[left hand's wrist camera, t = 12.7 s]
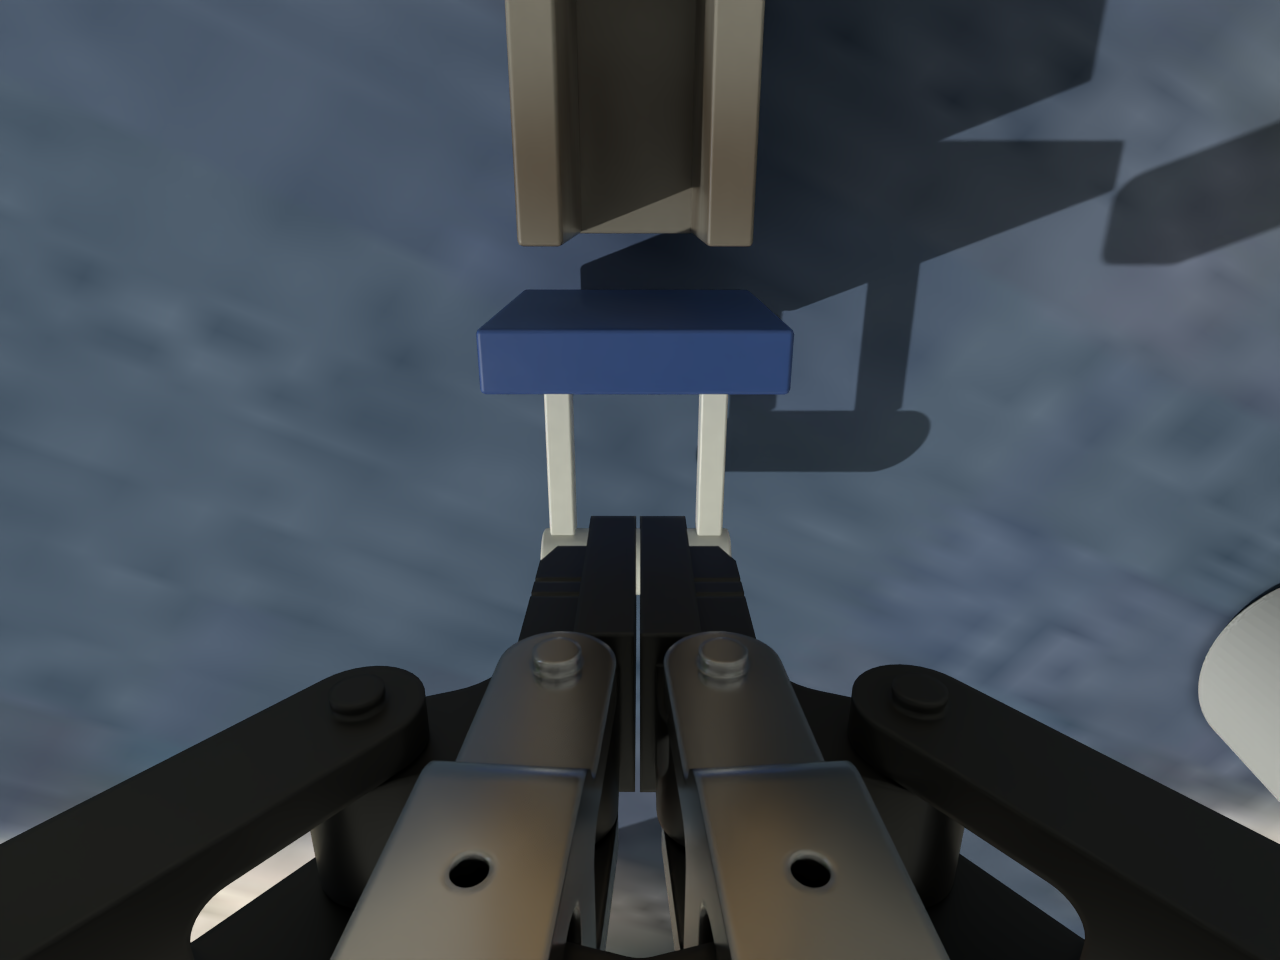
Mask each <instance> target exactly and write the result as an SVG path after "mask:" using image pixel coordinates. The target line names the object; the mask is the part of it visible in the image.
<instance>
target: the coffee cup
mask: <svg viewBox="0 0 1280 960" xmlns="http://www.w3.org/2000/svg"><path fill="white" fill-rule="evenodd" d="M1198 693H1199V701H1200V706H1201V709H1202V712H1203V714H1204V716H1205V718H1206V720H1207V722H1208V723H1209V725H1210V726H1211V727H1212V728H1213V730H1214V731H1215V732H1216V733H1217V734H1218V735H1219V736H1220V737H1221V738H1222V739H1223V740H1224V742H1225V743H1226V744H1227V745H1228V746H1229V747H1230V748H1231V749H1232V750H1233V751H1234V753H1235V754H1236V755H1237V756H1238V757H1239V758H1240V759H1241V760H1242V761H1243V762H1244V764H1245V765H1246V766H1247V767H1248V768H1249V769H1250V770H1251V771H1252V772H1253V773H1254V774H1255V776H1256V777H1257V778H1258V779H1259V780H1260V781H1261V782H1262V783H1263V784H1264V785H1265V787H1266V788H1267V789H1268V790H1269V791H1270V792H1271V793H1272V794H1273V795H1274V796H1275V797H1276V799H1277V800H1278V801H1279V802H1280V588H1279V589H1276V590H1274V591H1272V592H1271V593H1269V594H1267V595H1265V596H1263V597H1262V598H1260V599H1259V600H1257V601H1256V602H1254V603H1253V604H1251V605H1250V606H1249V607H1247V608H1246V609H1245V610H1243V611H1242V612H1241V613H1240V614H1239V615H1237V616H1236V617H1235V618H1234V619H1233V620H1232V621H1231V622H1230V623H1229V624H1228V625H1227V626H1226V627H1225V629H1224V630H1223V631H1222V632H1221V633H1220V635H1219V636H1218V637H1217V639H1216V640H1215V642H1214V643H1213V645H1212V647H1211V648H1210V650H1209V652H1208V654H1207V656H1206V658H1205V661H1204V663H1203V666H1202V669H1201V673H1200V677H1199V688H1198Z"/></svg>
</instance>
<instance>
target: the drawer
mask: <svg viewBox="0 0 1280 960" xmlns="http://www.w3.org/2000/svg"><path fill="white" fill-rule="evenodd" d="M764 12H765V0H505V14H506V33H507V52H508V70H509V89H510V108H511V127H512V145H513V164H514V183H515V202H516V221H517V239H518V243H519V245H521V246H560V245H562V244H564V243H565V242H567V241H568V240H570V239H571V238H573V237H574V236H576V235H577V234H579V233H693V234H694V235H695V236H697V237H698V238H699V239H700V240H702V241H703V242H704V243H706V244H707V245H708V246H711V247H749V246H751V245H752V243H753V228H754V209H755V189H756V170H757V150H758V130H759V111H760V91H761V71H762V52H763V32H764ZM476 337H477V350H478V364H479V377H480V389H481V391H482V393H484V394H544V404H545V426H546V449H547V471H548V494H549V516H550V528H547V529H545V530H544V533H543V537H542V545H541V560H542V559H543V558H544V557H545V556H546V555H547V554H549V553H550V552H551V551H552V550H553V549H554V548H556V547H557V546H586V545H587V539H588V532H589V528H576V527H577V512H576V480H575V447H574V415H573V394H699V424H698V459H697V493H696V528H687V533H688V540H689V546H719V547H720V548H721V549H723V550H724V551H725V552H726V553H727V554H728V555H730V556H731V542H730V535H729V532H728V530H727V529H725V528H722V524H723V500H724V477H725V453H726V430H727V407H728V394H787V393H788V392H789V390H790V383H791V369H792V356H793V342H794V333H793V330H792V329H791V328H790V327H788V326H787V325H786V324H785V323H784V322H783V321H782V320H781V319H780V318H778V317H777V316H776V315H775V314H774V313H773V312H772V311H771V310H770V309H768V308H767V307H766V306H765V305H764V304H763V303H762V302H761V301H760V300H758V299H757V298H756V297H755V296H754V295H753V294H752V293H751V292H750V291H748V290H525V291H523V292H522V293H521V294H520V295H518V296H517V297H516V298H515V299H514V300H512V301H511V302H510V303H509V304H508V305H507V306H505V307H504V308H503V309H502V310H501V311H499V312H498V313H497V314H496V315H495V316H494V317H492V318H491V319H490V320H489V321H488V322H486V323H485V324H484V325H483V326H482V327H481V328H479V329H478V330H477V333H476ZM636 595H640V528H636Z"/></svg>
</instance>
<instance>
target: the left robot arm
mask: <svg viewBox="0 0 1280 960" xmlns="http://www.w3.org/2000/svg"><path fill="white" fill-rule="evenodd" d="M635 722H636V516H591V519H590V526H589V532H588V539H587V545H586V546H557V547H556V548H554V549H553V550H552V551H551V552H550V553H549V554H547V555H546V556H545V557H544V558H543V559H542V560H540V563H539V567H538V571H537V574H536V578H535V582H534V585H533V589H532V596H530V600H529V604H528V607H527V611H526V615H525V618H524V622H523V626H522V629H521V633H520V637H519V640H518V642H517V643H515V644H514V645H512V646H511V647H510V648H508V649H507V650H506V651H505V652H504V653H503V655H502V656H501V658H500V660H499V662H498V664H497V666H496V668H495V671H494V673H493V675H492V677H491V678H489V679H487V680H485V681H483V682H481V683H479V684H476V685H473V686H470V687H467V688H464V689H460V690H456V691H451V692H446V693H441V694H436V695H431V696H426V697H425V688H424V686H423V683H422V682H421V681H420V679H419V678H418V677H417V676H415V675H414V674H413V673H411V672H408V671H406V670H403V669H400V668H396V667H389V666H369V667H361V668H355V669H351V670H347V671H344V672H341V673H338V674H335V675H332V676H330V677H328V678H326V679H324V680H322V681H320V682H318V683H316V684H314V685H312V686H310V687H308V688H306V689H304V690H302V691H300V692H298V693H296V694H294V695H292V696H290V697H288V698H286V699H284V700H282V701H280V702H278V703H277V704H275V705H273V706H271V707H269V708H267V709H265V710H263V711H261V712H259V713H257V714H255V715H253V716H251V717H249V718H247V719H245V720H243V721H241V722H239V723H237V724H235V725H233V726H231V727H229V728H227V729H225V730H224V731H222V732H220V733H218V734H216V735H214V736H212V737H210V738H208V739H206V740H204V741H202V742H200V743H198V744H196V745H194V746H192V747H190V748H188V749H186V750H184V751H182V752H180V753H178V754H176V755H174V756H172V757H171V758H169V759H167V760H165V761H163V762H161V763H159V764H157V765H155V766H153V767H151V768H149V769H147V770H145V771H143V772H141V773H139V774H137V775H135V776H133V777H131V778H129V779H127V780H125V781H123V782H121V783H119V784H117V785H116V786H114V787H112V788H110V789H108V790H106V791H104V792H102V793H100V794H98V795H96V796H94V797H92V798H90V799H88V800H86V801H84V802H82V803H80V804H78V805H76V806H74V807H72V808H70V809H68V810H66V811H64V812H63V813H61V814H59V815H57V816H55V817H53V818H51V819H49V820H47V821H45V822H43V823H41V824H39V825H37V826H35V827H33V828H31V829H29V830H27V831H25V832H23V833H21V834H19V835H17V836H15V837H13V838H11V839H10V840H8V841H6V842H4V843H2V844H0V960H1280V844H1278V843H1276V842H1274V841H1272V840H1270V839H1268V838H1267V837H1265V836H1263V835H1261V834H1259V833H1257V832H1255V831H1253V830H1251V829H1249V828H1247V827H1245V826H1243V825H1241V824H1239V823H1237V822H1235V821H1233V820H1231V819H1229V818H1227V817H1225V816H1223V815H1221V814H1219V813H1217V812H1215V811H1214V810H1212V809H1210V808H1208V807H1206V806H1204V805H1202V804H1200V803H1198V802H1196V801H1194V800H1192V799H1190V798H1188V797H1186V796H1184V795H1182V794H1180V793H1178V792H1176V791H1174V790H1172V789H1170V788H1168V787H1166V786H1164V785H1162V784H1161V783H1159V782H1157V781H1155V780H1153V779H1151V778H1149V777H1147V776H1145V775H1143V774H1141V773H1139V772H1137V771H1135V770H1133V769H1131V768H1129V767H1127V766H1125V765H1123V764H1121V763H1119V762H1117V761H1115V760H1113V759H1111V758H1109V757H1108V756H1106V755H1104V754H1102V753H1100V752H1098V751H1096V750H1094V749H1092V748H1090V747H1088V746H1086V745H1084V744H1082V743H1080V742H1078V741H1076V740H1074V739H1072V738H1070V737H1068V736H1066V735H1064V734H1062V733H1060V732H1058V731H1056V730H1055V729H1053V728H1051V727H1049V726H1047V725H1045V724H1043V723H1041V722H1039V721H1037V720H1035V719H1033V718H1031V717H1029V716H1027V715H1025V714H1023V713H1021V712H1019V711H1017V710H1015V709H1013V708H1011V707H1009V706H1007V705H1005V704H1003V703H1002V702H1000V701H998V700H996V699H994V698H992V697H990V696H988V695H986V694H984V693H982V692H980V691H978V690H976V689H974V688H972V687H970V686H968V685H966V684H964V683H962V682H960V681H958V680H956V679H954V678H952V677H950V676H948V675H946V674H943V673H941V672H938V671H935V670H932V669H928V668H924V667H919V666H913V665H901V664H898V665H885V666H879V667H875V668H872V669H870V670H868V671H865V672H864V673H863V674H861V675H860V676H859V677H858V678H857V679H856V680H855V682H854V685H853V688H852V696H851V697H847V696H842V695H837V694H832V693H827V692H822V691H818V690H814V689H810V688H806V687H803V686H801V685H798V684H795V683H793V682H791V681H790V680H789V678H788V675H787V673H786V671H785V668H784V666H783V664H782V662H781V660H780V658H779V656H778V655H777V653H776V652H775V651H774V650H773V649H772V648H770V647H769V646H768V645H766V644H765V643H763V642H761V641H759V640H757V639H756V637H755V633H754V629H753V625H752V621H751V618H750V614H749V610H748V606H747V602H746V598H745V596H744V591H743V587H742V583H741V582H740V575H739V572H738V568H737V564H736V561H735V560H734V559H733V558H732V557H731V556H730V555H728V554H727V553H726V552H725V551H724V550H723V549H721V548H720V547H719V546H689V540H688V533H687V526H686V519H685V516H640V792H656V810H657V817H658V820H659V822H660V825H661V826H662V854H663V862H664V870H665V878H666V885H667V893H668V901H669V909H670V917H671V925H672V933H673V941H674V949H675V951H673V952H670V953H666V954H662V955H658V956H654V957H648V958H632V957H626V956H622V955H618V954H614V953H610V952H607V951H605V949H606V941H607V933H608V925H609V917H610V909H611V901H612V893H613V885H614V878H615V870H616V862H617V854H618V798H619V792H635ZM964 827H965V828H966V829H968V830H969V831H971V832H972V833H974V834H975V835H977V836H978V837H980V838H981V839H983V840H985V841H986V842H988V843H989V844H991V845H992V846H994V847H995V848H997V849H998V850H1000V851H1001V852H1003V853H1004V854H1006V855H1007V856H1009V857H1010V858H1012V859H1013V860H1015V861H1016V862H1018V863H1019V864H1021V865H1022V866H1024V867H1025V868H1027V869H1029V870H1030V871H1032V872H1033V873H1035V874H1036V875H1038V876H1039V877H1041V878H1042V879H1044V880H1045V881H1047V882H1048V883H1050V884H1051V885H1052V886H1054V887H1055V888H1056V889H1058V890H1059V891H1060V892H1061V893H1062V894H1063V895H1064V896H1065V897H1066V898H1067V899H1068V900H1069V901H1070V903H1071V904H1072V905H1073V907H1074V908H1075V910H1076V911H1077V913H1078V915H1079V917H1080V919H1081V921H1082V923H1083V927H1084V931H1085V940H1084V939H1083V938H1081V937H1080V936H1078V935H1077V934H1075V933H1074V932H1072V931H1071V930H1069V929H1068V928H1067V927H1065V926H1064V925H1062V924H1061V923H1059V922H1058V921H1056V920H1055V919H1053V918H1052V917H1051V916H1049V915H1048V914H1046V913H1045V912H1043V911H1042V910H1040V909H1039V908H1038V907H1036V906H1035V905H1033V904H1032V903H1030V902H1029V901H1027V900H1026V899H1024V898H1023V897H1022V896H1020V895H1019V894H1017V893H1016V892H1014V891H1013V890H1011V889H1010V888H1009V887H1007V886H1006V885H1004V884H1003V883H1001V882H1000V881H998V880H997V879H995V878H994V877H993V876H991V875H990V874H988V873H987V872H985V871H984V870H982V869H981V868H980V867H978V866H977V865H975V864H974V863H972V862H971V861H969V860H968V859H966V858H965V857H964V856H962V855H961V854H959V852H960V847H961V842H962V837H963V832H964ZM309 831H310V832H311V837H312V842H313V847H314V852H315V858H313V859H312V860H311V861H309V862H308V863H306V864H305V865H303V866H302V867H300V868H299V869H298V870H296V871H295V872H293V873H292V874H290V875H289V876H287V877H286V878H284V879H283V880H282V881H280V882H279V883H277V884H276V885H274V886H273V887H271V888H270V889H269V890H267V891H266V892H264V893H263V894H261V895H260V896H258V897H257V898H256V899H254V900H253V901H251V902H250V903H248V904H247V905H245V906H244V907H242V908H241V909H240V910H238V911H237V912H235V913H234V914H232V915H231V916H229V917H228V918H227V919H225V920H224V921H222V922H221V923H219V924H218V925H216V926H215V927H213V928H212V929H211V930H209V931H208V932H206V933H205V934H203V935H202V936H200V937H199V938H198V939H196V940H195V941H193V942H191V943H190V937H191V931H192V927H193V925H194V923H195V920H196V918H197V917H198V915H199V913H200V912H201V910H202V909H203V908H204V906H205V905H206V904H207V903H208V902H209V901H210V899H211V898H212V897H213V896H214V895H216V894H217V893H218V892H219V891H220V890H222V889H223V888H224V887H226V886H227V885H229V884H230V883H232V882H233V881H235V880H236V879H238V878H239V877H241V876H242V875H244V874H245V873H247V872H248V871H250V870H251V869H253V868H254V867H256V866H258V865H259V864H261V863H262V862H264V861H265V860H267V859H268V858H270V857H271V856H273V855H274V854H276V853H277V852H279V851H280V850H282V849H283V848H285V847H286V846H288V845H289V844H291V843H292V842H294V841H295V840H297V839H298V838H300V837H302V836H303V835H305V834H306V833H308V832H309Z"/></svg>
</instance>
